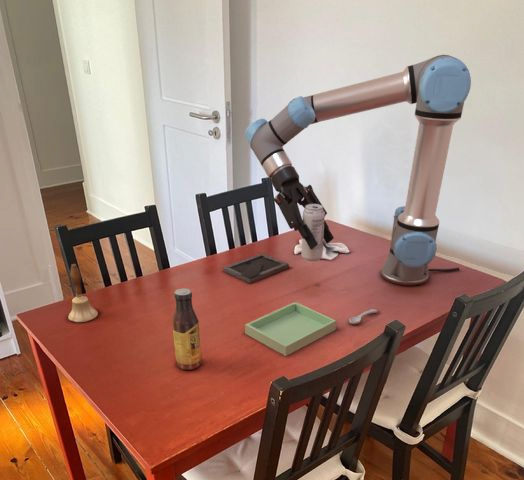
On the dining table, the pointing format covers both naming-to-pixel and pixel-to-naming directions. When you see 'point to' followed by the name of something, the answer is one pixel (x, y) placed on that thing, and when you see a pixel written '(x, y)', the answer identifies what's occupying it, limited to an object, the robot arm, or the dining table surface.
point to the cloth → (326, 249)
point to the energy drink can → (313, 231)
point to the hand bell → (80, 301)
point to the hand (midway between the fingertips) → (322, 243)
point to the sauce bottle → (186, 331)
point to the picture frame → (255, 268)
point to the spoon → (358, 318)
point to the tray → (290, 328)
